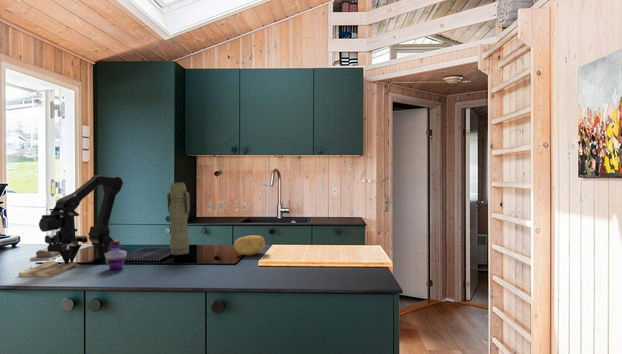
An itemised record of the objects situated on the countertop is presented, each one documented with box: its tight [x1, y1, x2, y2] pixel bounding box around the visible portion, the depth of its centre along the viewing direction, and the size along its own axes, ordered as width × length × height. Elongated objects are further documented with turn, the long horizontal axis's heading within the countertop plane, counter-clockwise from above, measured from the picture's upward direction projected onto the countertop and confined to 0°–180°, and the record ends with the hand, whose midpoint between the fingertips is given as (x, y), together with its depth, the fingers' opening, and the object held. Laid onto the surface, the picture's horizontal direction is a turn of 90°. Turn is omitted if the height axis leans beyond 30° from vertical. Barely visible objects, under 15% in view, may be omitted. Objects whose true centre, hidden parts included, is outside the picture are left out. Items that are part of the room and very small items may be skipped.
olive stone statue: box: [166, 181, 191, 256], centre depth 203 cm, size 9×12×35 cm
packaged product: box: [29, 247, 62, 261], centre depth 201 cm, size 18×5×10 cm
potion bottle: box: [104, 240, 128, 271], centre depth 174 cm, size 9×9×12 cm
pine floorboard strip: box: [18, 267, 65, 277], centre depth 168 cm, size 14×7×2 cm, turn 87°
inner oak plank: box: [53, 261, 78, 272], centre depth 176 cm, size 5×9×1 cm, turn 176°
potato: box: [233, 234, 266, 256], centre depth 198 cm, size 10×14×10 cm
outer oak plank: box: [32, 261, 60, 268], centre depth 176 cm, size 5×9×1 cm, turn 177°
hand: (69, 263), depth 179 cm, fingers closed on inner oak plank, 3 cm apart
